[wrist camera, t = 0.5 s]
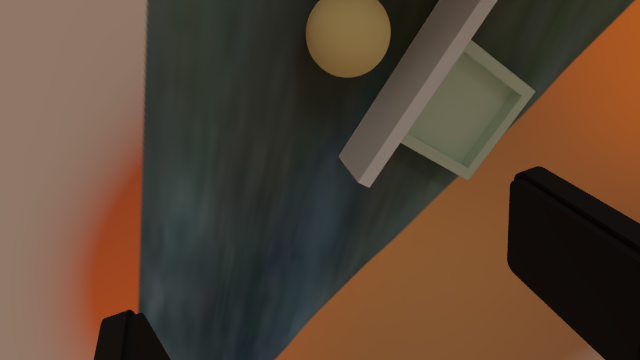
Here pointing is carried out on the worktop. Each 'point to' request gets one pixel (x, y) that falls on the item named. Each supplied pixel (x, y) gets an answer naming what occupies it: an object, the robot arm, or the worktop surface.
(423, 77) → the wall
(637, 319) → the robot arm
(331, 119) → the worktop surface
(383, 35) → the ball
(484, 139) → the tray
